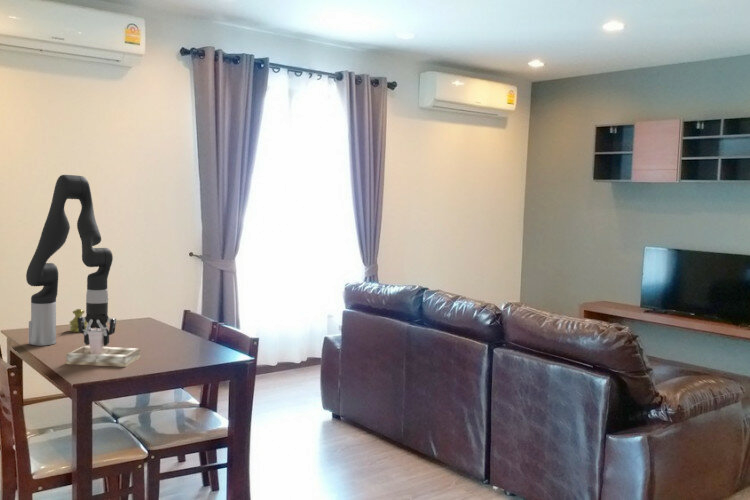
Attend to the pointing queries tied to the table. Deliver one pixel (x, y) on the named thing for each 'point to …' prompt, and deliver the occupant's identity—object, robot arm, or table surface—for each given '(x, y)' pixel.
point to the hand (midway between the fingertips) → (96, 344)
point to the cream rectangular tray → (103, 356)
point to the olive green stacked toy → (76, 321)
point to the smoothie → (96, 341)
